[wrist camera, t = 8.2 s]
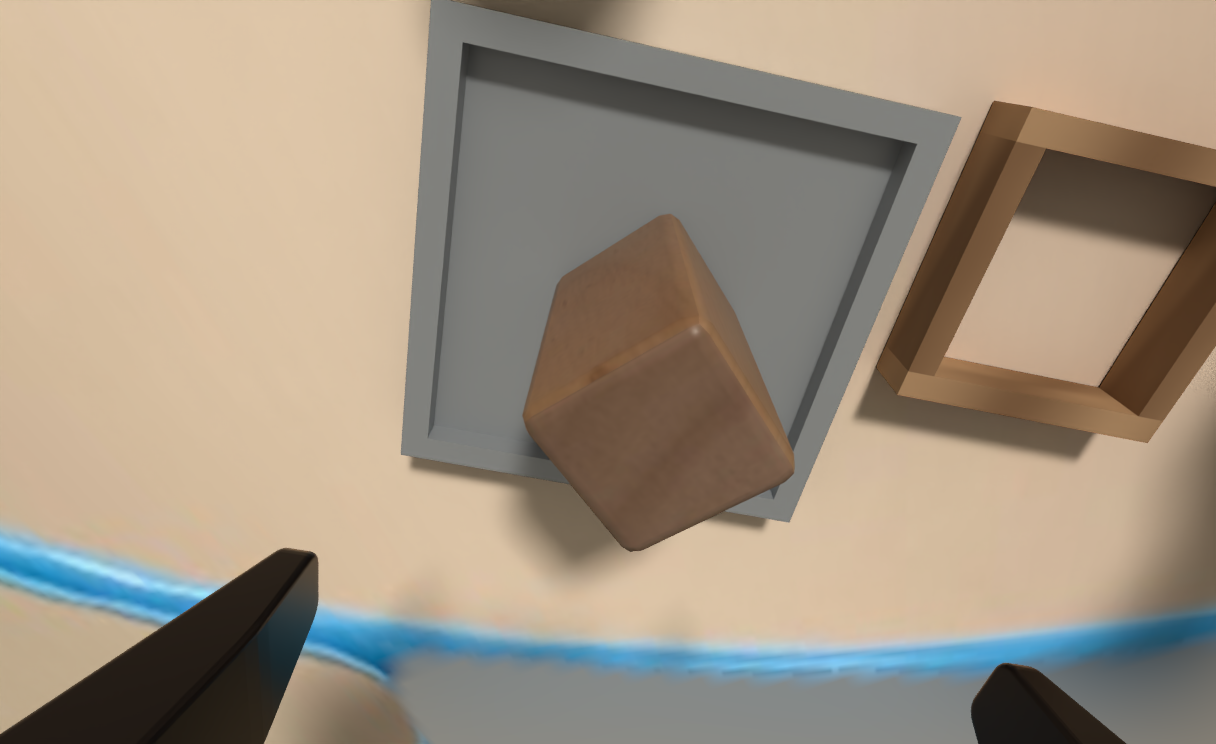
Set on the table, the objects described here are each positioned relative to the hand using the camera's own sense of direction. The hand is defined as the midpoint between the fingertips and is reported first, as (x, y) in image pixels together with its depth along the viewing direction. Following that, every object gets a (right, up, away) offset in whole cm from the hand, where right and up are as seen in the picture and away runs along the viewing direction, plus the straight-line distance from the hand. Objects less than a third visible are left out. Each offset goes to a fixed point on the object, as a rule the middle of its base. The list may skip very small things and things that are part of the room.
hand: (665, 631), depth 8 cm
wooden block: (0, +6, +11) cm, 12 cm away
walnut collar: (+13, +6, +11) cm, 18 cm away
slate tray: (0, +6, +11) cm, 13 cm away
